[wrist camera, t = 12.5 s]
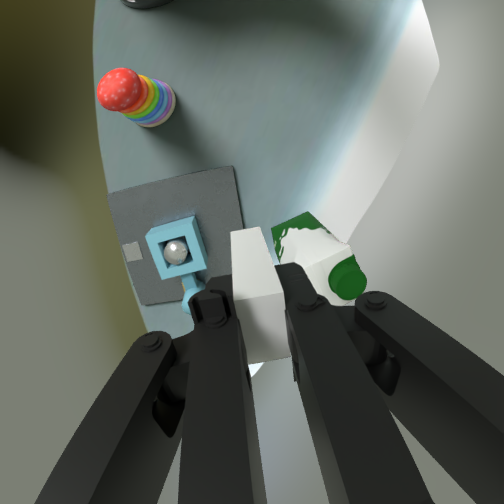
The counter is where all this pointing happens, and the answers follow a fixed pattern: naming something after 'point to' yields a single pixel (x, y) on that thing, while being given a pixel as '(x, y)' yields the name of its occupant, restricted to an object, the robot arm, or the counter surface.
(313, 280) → the milk carton
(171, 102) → the stacking toy
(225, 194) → the post plate
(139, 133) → the counter surface
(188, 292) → the blue handled square frame
